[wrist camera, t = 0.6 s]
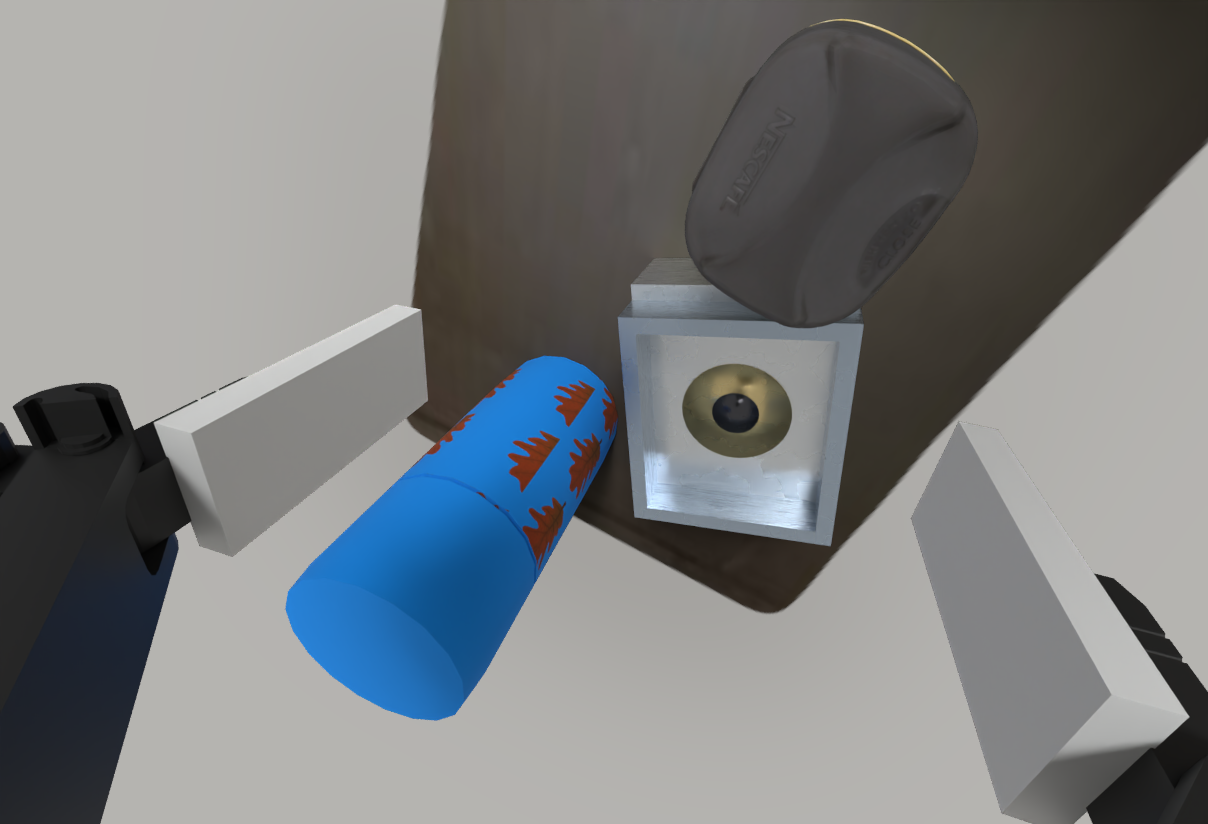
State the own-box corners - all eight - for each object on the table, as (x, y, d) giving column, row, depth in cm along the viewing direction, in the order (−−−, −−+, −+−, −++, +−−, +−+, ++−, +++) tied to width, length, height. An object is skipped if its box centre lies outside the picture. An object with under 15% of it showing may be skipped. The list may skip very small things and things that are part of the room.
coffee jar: (821, 251, 35) (824, 383, 20) (714, 189, 35) (636, 273, 20) (937, 92, 29) (1062, 109, 14) (807, 19, 29) (796, -41, 14)
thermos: (514, 453, 52) (322, 690, 32) (495, 349, 47) (250, 556, 27) (623, 468, 49) (486, 744, 29) (616, 359, 44) (441, 603, 23)
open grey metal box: (856, 256, 34) (866, 304, 27) (827, 475, 43) (828, 557, 35) (654, 258, 38) (616, 300, 31) (663, 457, 47) (635, 527, 40)
